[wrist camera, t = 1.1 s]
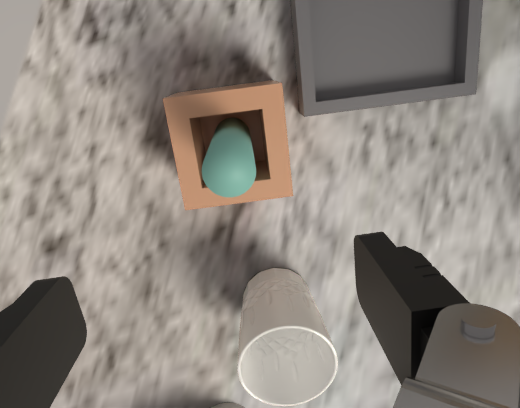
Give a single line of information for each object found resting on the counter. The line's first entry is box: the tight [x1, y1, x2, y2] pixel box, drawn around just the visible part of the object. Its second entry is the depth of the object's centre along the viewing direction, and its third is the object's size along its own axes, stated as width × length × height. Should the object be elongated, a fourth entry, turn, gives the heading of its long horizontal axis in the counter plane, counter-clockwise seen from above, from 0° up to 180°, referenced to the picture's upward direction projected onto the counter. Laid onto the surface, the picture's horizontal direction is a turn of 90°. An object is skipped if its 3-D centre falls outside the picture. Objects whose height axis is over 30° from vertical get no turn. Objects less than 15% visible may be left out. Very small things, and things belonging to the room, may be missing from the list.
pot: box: [163, 80, 293, 210], centre depth 30 cm, size 8×8×7 cm
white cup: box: [237, 268, 338, 406], centre depth 34 cm, size 8×8×10 cm
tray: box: [290, 0, 483, 117], centre depth 30 cm, size 14×12×2 cm
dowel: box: [202, 118, 256, 197], centre depth 27 cm, size 3×3×12 cm
